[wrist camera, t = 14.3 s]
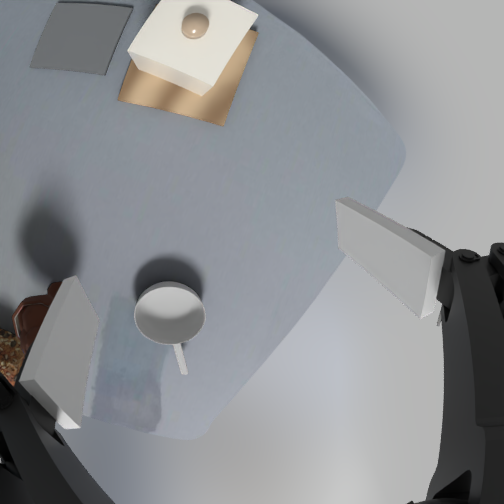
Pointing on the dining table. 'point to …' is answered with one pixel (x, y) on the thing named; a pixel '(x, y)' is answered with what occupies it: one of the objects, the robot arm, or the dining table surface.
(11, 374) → the bread
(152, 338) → the saucepan
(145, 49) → the knobbed white box
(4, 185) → the dining table surface
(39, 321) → the ice cream bowl
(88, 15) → the mat
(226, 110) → the board
